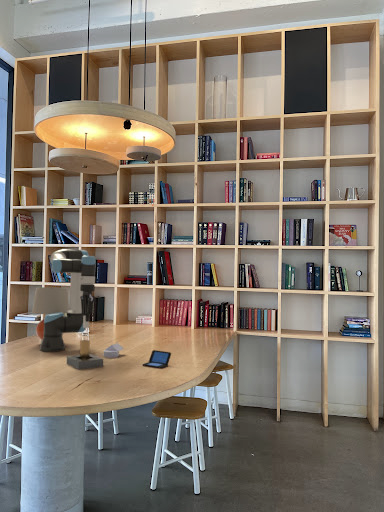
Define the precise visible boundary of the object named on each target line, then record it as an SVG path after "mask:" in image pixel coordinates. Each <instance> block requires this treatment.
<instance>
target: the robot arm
mask: <svg viewBox="0 0 384 512" xmlns="http://www.w3.org/2000/svg"><path fill="white" fill-rule="evenodd" d="M49 261H50V263H51V272H52V273H65V274H66V273H67V274H69V273H70V288H69V291H70V292H69V310H68V311H67V314H63V313H62V312H60V313H51V314H45V315H44V336H43V340H42V343H41V342H40V346H39V351H41V350H42V351H41V352H47V351H54V352H61V351H60V350H62V351H65V350H64V349H66V345H65V342H64V338H63V335H64V334H68V333H69V334H70V333H76V334H77V333H84V332H85V331H86V329H87V328H89V327H90V316H91V315H92V312H93V305H94V300H95V297H93V292H95V287H96V286H95V283H96V263H97V262H96V256H95V255H89V252H88V251H87V250H85V249H65V248H64V249H59V250H56V251H53V252H52V253H51V254H50V257H49ZM62 334H63V335H62Z"/></svg>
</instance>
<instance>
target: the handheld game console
mask: <svg viewBox="0 0 384 512" xmlns="http://www.w3.org/2000/svg"><path fill="white" fill-rule="evenodd" d="M171 357H172V352H171V351H164V350H157V349H156V350H155V349H153V350H152V351H151V354H150V357H149V360H148V362H144V363H143V364H141V365H142V367H146V368H153V369H159V370H160V369H165V368H168V367H169V362H170V359H171Z"/></svg>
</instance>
